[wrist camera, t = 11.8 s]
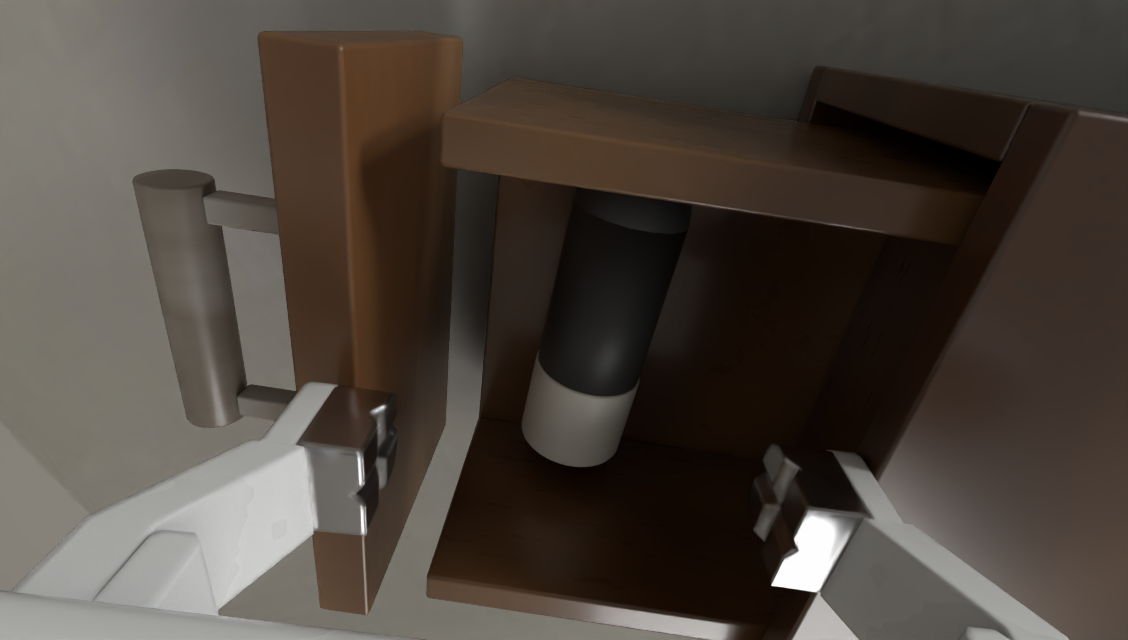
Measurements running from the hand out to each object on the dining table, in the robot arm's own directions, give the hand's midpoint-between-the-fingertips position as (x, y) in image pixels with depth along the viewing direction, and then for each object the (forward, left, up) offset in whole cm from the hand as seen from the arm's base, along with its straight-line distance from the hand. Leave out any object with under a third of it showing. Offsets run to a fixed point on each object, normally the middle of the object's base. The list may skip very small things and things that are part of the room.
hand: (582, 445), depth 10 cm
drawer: (-1, -1, -8) cm, 8 cm away
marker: (+1, +1, -6) cm, 6 cm away
